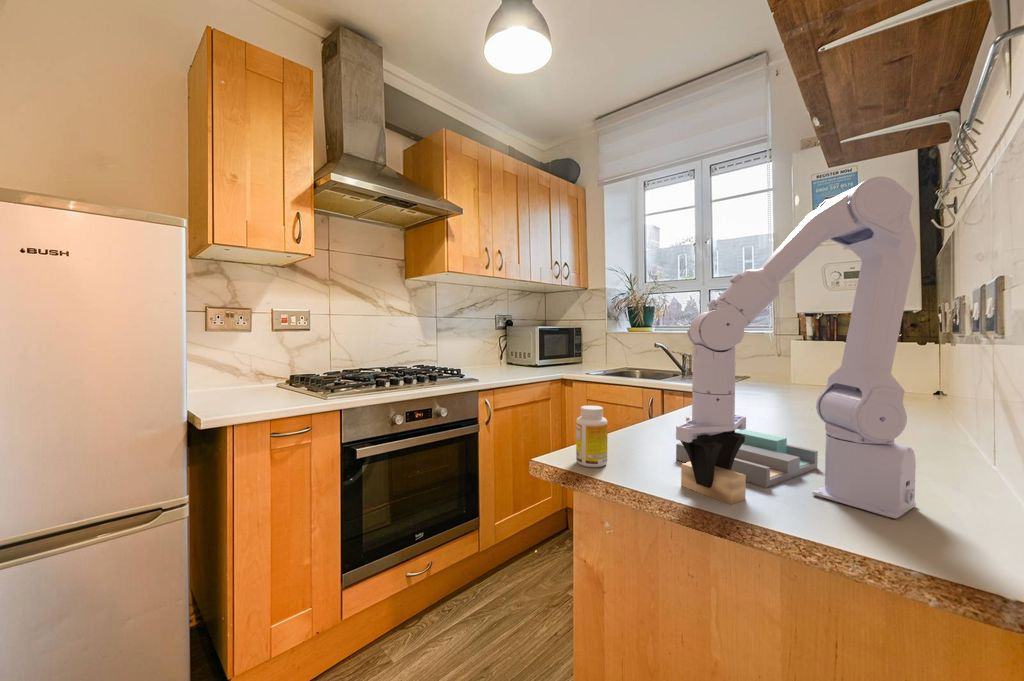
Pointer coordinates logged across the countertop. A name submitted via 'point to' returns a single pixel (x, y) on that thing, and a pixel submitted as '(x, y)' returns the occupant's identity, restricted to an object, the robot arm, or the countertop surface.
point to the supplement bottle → (591, 437)
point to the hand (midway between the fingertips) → (711, 482)
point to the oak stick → (717, 483)
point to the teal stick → (764, 441)
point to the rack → (767, 463)
